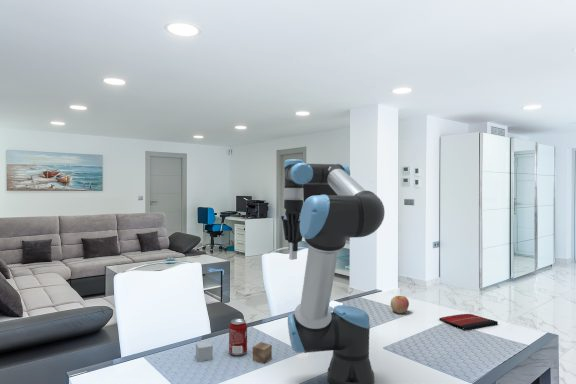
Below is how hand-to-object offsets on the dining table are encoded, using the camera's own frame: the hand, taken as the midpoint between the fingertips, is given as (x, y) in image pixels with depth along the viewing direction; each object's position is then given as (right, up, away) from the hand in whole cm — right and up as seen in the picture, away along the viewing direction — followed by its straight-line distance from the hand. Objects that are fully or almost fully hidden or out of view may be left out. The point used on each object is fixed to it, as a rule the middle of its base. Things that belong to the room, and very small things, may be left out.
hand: (293, 259), depth 152 cm
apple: (+54, -35, +43) cm, 77 cm away
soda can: (-21, -35, -6) cm, 41 cm away
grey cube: (-33, -34, -10) cm, 49 cm away
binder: (+82, -36, +30) cm, 94 cm away
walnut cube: (-11, -35, -11) cm, 38 cm away
